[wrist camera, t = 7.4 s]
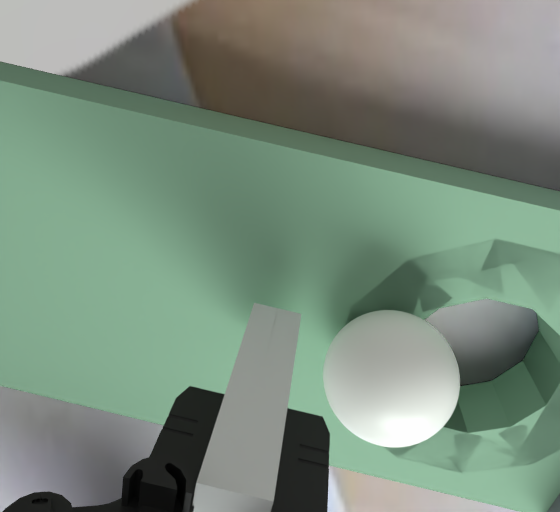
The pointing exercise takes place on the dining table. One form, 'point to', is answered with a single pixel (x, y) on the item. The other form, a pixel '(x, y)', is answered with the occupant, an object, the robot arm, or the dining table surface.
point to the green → (262, 270)
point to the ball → (391, 378)
